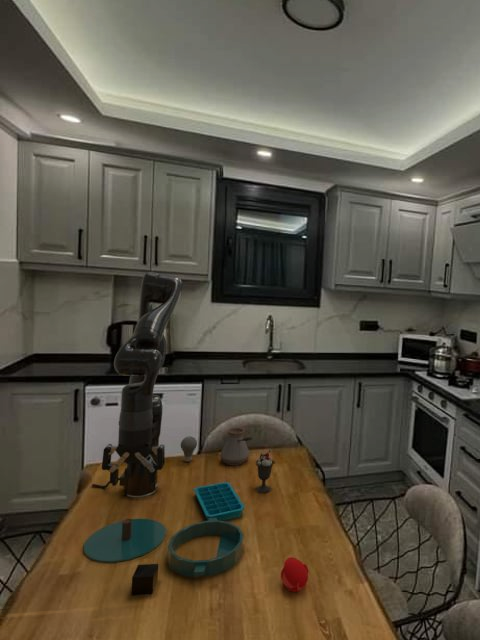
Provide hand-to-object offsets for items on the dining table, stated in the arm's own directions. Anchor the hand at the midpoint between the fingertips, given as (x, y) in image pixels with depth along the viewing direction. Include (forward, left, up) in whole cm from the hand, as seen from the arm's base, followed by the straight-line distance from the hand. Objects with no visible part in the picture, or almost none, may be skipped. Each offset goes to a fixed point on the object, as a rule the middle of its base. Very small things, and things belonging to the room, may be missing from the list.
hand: (133, 484), depth 112 cm
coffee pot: (+23, +54, -20) cm, 62 cm away
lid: (-3, +6, -19) cm, 20 cm away
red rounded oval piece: (+42, -16, -20) cm, 49 cm away
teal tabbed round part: (+19, -2, -19) cm, 27 cm away
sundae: (+33, +34, -20) cm, 51 cm away
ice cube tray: (+19, +23, -20) cm, 36 cm away
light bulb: (+3, +59, -20) cm, 62 cm away
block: (+7, -14, -19) cm, 25 cm away
